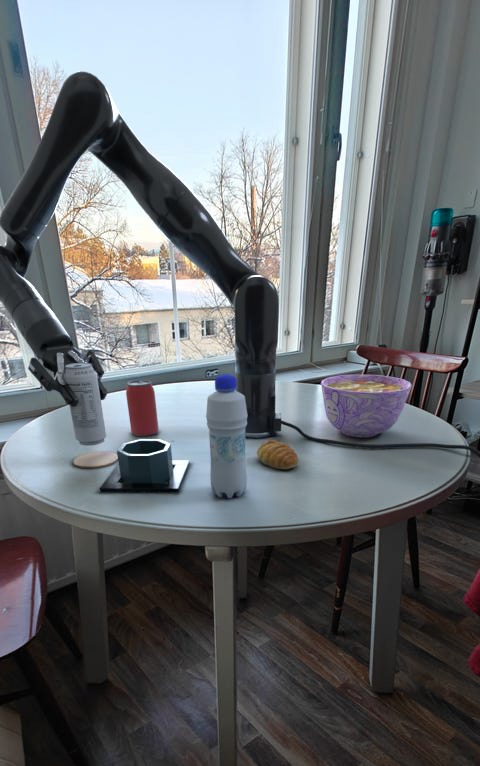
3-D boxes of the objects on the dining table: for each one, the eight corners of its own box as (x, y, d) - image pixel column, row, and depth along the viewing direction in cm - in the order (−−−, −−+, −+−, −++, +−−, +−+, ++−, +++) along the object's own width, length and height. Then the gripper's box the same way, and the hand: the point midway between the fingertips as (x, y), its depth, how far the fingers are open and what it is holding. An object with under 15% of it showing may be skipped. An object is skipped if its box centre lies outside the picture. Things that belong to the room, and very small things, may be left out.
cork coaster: (123, 453, 99) (122, 451, 99) (111, 468, 91) (110, 466, 91) (82, 453, 99) (82, 451, 99) (66, 468, 92) (66, 466, 91)
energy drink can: (112, 438, 95) (100, 362, 88) (98, 447, 90) (84, 368, 83) (86, 436, 97) (72, 361, 89) (70, 445, 92) (55, 367, 84)
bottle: (209, 486, 83) (203, 371, 73) (246, 484, 83) (245, 369, 73) (210, 502, 77) (204, 379, 67) (250, 500, 77) (249, 378, 68)
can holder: (189, 464, 93) (187, 435, 90) (178, 492, 80) (175, 460, 77) (121, 463, 93) (117, 435, 90) (100, 492, 81) (94, 460, 78)
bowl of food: (308, 440, 104) (311, 388, 99) (327, 418, 120) (331, 372, 115) (399, 450, 98) (408, 395, 92) (407, 424, 114) (414, 376, 108)
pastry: (307, 467, 90) (308, 448, 88) (279, 474, 87) (279, 455, 85) (279, 453, 97) (279, 436, 95) (252, 460, 94) (252, 442, 92)
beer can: (161, 429, 114) (156, 379, 108) (154, 437, 108) (149, 385, 103) (136, 428, 115) (129, 379, 109) (128, 436, 109) (120, 385, 103)
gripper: (10, 319, 81) (62, 396, 81) (79, 314, 91) (126, 382, 91) (3, 348, 87) (52, 420, 86) (69, 340, 97) (113, 405, 96)
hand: (90, 400), depth 88 cm, fingers closed on energy drink can, 6 cm apart
